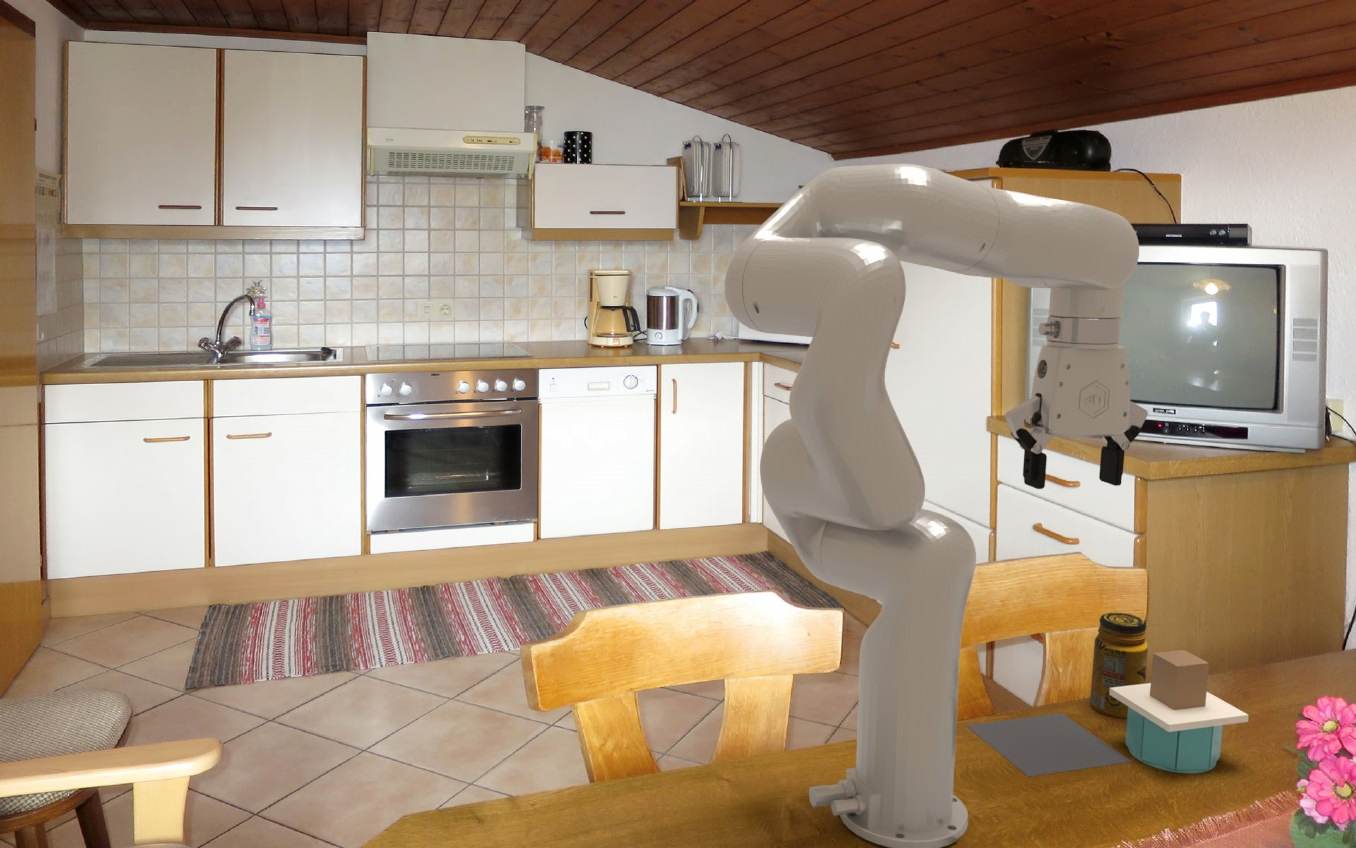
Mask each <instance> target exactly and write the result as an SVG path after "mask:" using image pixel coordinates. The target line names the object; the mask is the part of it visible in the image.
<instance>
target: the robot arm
mask: <svg viewBox="0 0 1356 848" xmlns="http://www.w3.org/2000/svg"><path fill="white" fill-rule="evenodd" d="M1139 257H1140V244H1139V239H1138V236H1137V233H1136V231H1135V229H1134V228H1133V225H1132V224H1131V223H1130V222H1129V221H1128V220H1127V219H1126V218H1125V217H1124V216H1122V215H1121V214H1118V213H1117V212H1113V211H1110V210H1107V209H1105V208H1102V207H1098V206H1095V205H1092V204H1087V203H1081V202H1077V201H1070V200H1063V199H1057V198H1050V197H1044V196H1039V195H1034V194H1029V193H1025V192H1020V191H1014V190H1006V189H1000V188H994V187H992V186H991V187H990V186H986V185H983V184H981V183H978V182H974V181H970V180H968V179H964V178H961V177H959V176H956V175H952V174H950V173H948V172H947V173H946V172H943V171H940V170H937V169H934V168H931V167H927V166H925V165H924V166H923V165H920V164H913V163H884V164H881V163H880V164H865V165H850V166H849V165H847V166H846V165H845V166H840V167H839V166H837V167H833V168H830V169H828V170H825V171H824V172H822V173H821V174H819V175H817V176H816V177H814V178H813V179H811V180H810V181H808V183H806V184H804V185H803V186H802V187H801V188H799V190H798V191H796V192H795V193H794V194H792V196H790V197H789V198H788V199H787V200H786V201H785V202H784V203H783V204H782V205H781V206H780V207H779V208H778V209H777V210H776V211H775V212H773V214H771V215H770V216H769V217H768V218H767V219H766V220H765V221H764V222H763V223H762V224H760V225H759V226H758V228H756V230H754V231H753V232H752V233H751V234H750V235H749V236H748V237H747V238H746V239H745V240H744V241H743V242H742V244H741V245H740V246H738V248H737V250H736V251H735V253H734V254H733V256H732V259H730V261H729V264H728V266H727V267H728V268H727V270H726V273H725V279H724V295H725V300H726V303H727V306H728V308H729V311H730V312H731V314H732V315H733V317H734V318H735V319H736V320H737V321H738V322H739V323H740V324H742V325H744V327H747V328H748V329H750V330H753V331H756V332H760V333H764V334H775V335H784V336H785V335H788V336H798V337H807V338H811V342H810V344H809V346H808V347H807V352H806V354H805V356H804V358H803V362H802V364H801V366H800V368H799V369H798V372H797V373H796V374H797V375H796V377H794V378H795V379H794V380H793V384H792V386H791V389H790V393H789V398H788V399H789V400H788V404H789V405H788V406H789V414H790V418H788V419H786V420H785V421H783V422H781V423H780V424H778V425H777V426H776V427H775V428H773V430H772V431H771V432H770V433H769V435H768V437H767V438H766V440H765V442H764V445H763V448H762V451H761V455H760V463H759V473H760V474H759V475H760V484H761V487H762V492H763V494H764V497H765V500H766V503H767V504H768V505H769V507H770V510H771V511H772V513H773V514H774V517H775V518H776V520H777V521H778V523H779V525H780V527H781V528H782V530H783V532H784V533H785V535H786V537H787V539H788V541H789V542H790V544H791V545H792V547H793V549H794V550H795V552H796V554H797V555H798V557H799V558H800V560H801V562H802V563H803V565H804V566H805V568H806V569H807V570H808V571H809V572H810V573H811V575H813V576H814V577H816V579H818V580H819V581H822V583H826V584H828V585H830V586H834V587H836V588H839V589H842V590H845V591H849V592H852V593H854V594H859V595H862V596H866V597H868V598H870V599H872V600H873V599H874V600H876V601H878V602H880V604H881V610H880V613H879V614H878V616H877V617H876V618H875V619H874V621H873V622H872V623H871V624H870V626H869V627H868V628H867V630H866V631H865V633H864V635H863V637H862V639H861V643H860V648H859V649H860V650H859V663H858V664H859V665H858V666H859V671H858V699H857V700H858V701H857V703H858V704H857V728H856V729H857V731H856V762H855V764H856V765H855V767H850V768H847V769H846V771H845V777H846V778H845V779H841V780H838V782H837V783H836V784H830V785H828V784H824V785H817V786H816V785H815V786H810V787H809V789H808V800H809V802H810V804H811V806H812V808H820V807H825V806H826V807H827V806H830V808H831V813H832V814H833V816H835V817H837V816H840V819H841V821H842V823H843V824H844V825H845V826H846V827H847V829H848V830H849V831H851V832H853V834H855V835H857V836H858V837H860V838H862V839H863V840H866V841H867V842H871V843H873V844H875V845H879V846H881V847H882V846H883V847H886V848H944V847H946V846H949V845H951V844H954V843H956V842H957V841H958V840H960V839H959V838H961V837H962V836H963V835H964V834H965V833H966V831H967V829H968V826H969V813H968V809H967V807H966V805H965V804H964V803H963V802H962V800H961V799H959V797H957V796H956V795H955V794H954V781H955V780H954V779H955V762H956V760H955V758H956V742H957V741H956V740H957V739H956V738H957V721H958V720H957V718H958V699H959V697H958V696H959V679H960V677H959V676H960V661H961V659H960V658H961V657H960V656H961V645H962V634H963V633H962V632H963V625H964V619H965V614H966V609H967V604H968V599H969V596H970V591H971V588H972V584H973V580H974V576H975V570H976V564H977V563H976V562H977V553H976V547H975V543H974V540H973V539H972V537H971V535H970V533H969V532H968V531H967V530H966V529H965V527H964V526H963V525H961V524H960V523H959V522H957V521H956V520H954V519H952V518H951V517H949V516H946V515H945V514H941V513H939V512H937V511H932V510H928V509H926V508H925V509H924V508H922V507H923V505H924V502H925V497H926V496H925V495H926V484H925V479H924V475H923V472H922V469H921V465H920V463H919V460H918V458H917V455H916V453H915V451H914V450H913V447H912V445H911V443H910V441H909V438H908V436H907V434H906V432H905V430H904V428H903V425H902V422H901V421H900V419H899V417H898V415H897V412H896V411H895V409H894V408H895V407H894V406H893V404H892V401H891V399H890V396H889V394H888V391H887V388H886V387H887V386H886V381H885V379H886V377H885V376H886V368H887V361H888V358H889V354H890V351H891V348H892V344H893V340H894V338H895V334H896V331H897V328H898V325H899V322H900V320H901V317H902V312H904V311H903V310H904V306H905V302H906V294H907V289H906V288H907V287H906V286H907V285H906V277H905V272H904V268H903V266H902V264H901V262H904V263H909V264H913V265H918V266H923V267H929V268H933V269H934V268H935V269H939V270H943V271H946V272H951V273H954V274H955V273H956V274H958V275H959V274H961V275H965V276H969V277H970V276H971V277H981V278H989V279H992V278H993V279H1004V280H1006V281H1007V282H1008V283H1010V284H1012V285H1015V286H1019V287H1022V288H1023V287H1024V288H1031V289H1032V288H1033V289H1035V288H1036V289H1049V290H1050V291H1049V307H1048V316H1047V321H1046V322H1041V323H1040V324H1039V325H1038V332H1039V335H1040V336H1046V337H1045V338H1046V344H1042V345H1041V348H1040V351H1039V354H1038V358H1037V361H1036V362H1037V363H1036V366H1035V371H1034V376H1033V382H1032V388H1031V396H1030V398H1029V399H1027V400H1026V401H1024V402H1022V403H1020V404H1018V405H1017V406H1015V407H1013V408H1011V409H1010V410H1007V411H1006V413H1005V414H1004V417H1005V421H1006V423H1007V425H1008V428H1009V429H1010V431H1011V433H1010V435H1011V436H1012V438H1013V439H1014V440H1015V441H1016V442H1017V443H1018V445H1019V447H1020V449H1021V450H1023V451H1024V453H1023V467H1022V477H1023V482H1024V484H1025V485H1026V486H1029V487H1032V488H1033V489H1037V490H1043V489H1044V488H1045V486H1046V476H1047V475H1046V473H1047V459H1048V456H1047V453H1044V452H1043V450H1045V448H1046V447H1047V445H1048V444H1049V443H1050V442H1051V440H1052V439H1053V438H1054V437H1056V438H1061V439H1062V438H1063V439H1064V438H1067V439H1068V438H1098V437H1099V438H1100V437H1101V438H1102V439H1103V441H1104V443H1105V444H1106V445H1104V446H1102V448H1101V450H1100V460H1099V461H1100V464H1099V474H1098V477H1099V480H1100V481H1101V482H1104V483H1107V484H1109V485H1112V486H1114V487H1115V486H1117V487H1119V486H1121V485H1122V476H1123V474H1124V466H1125V465H1124V464H1125V463H1124V462H1125V451H1129V449H1130V448H1131V443H1132V442H1133V441H1134V440H1135V439H1136V438H1137V437H1138V436H1139V435H1140V433H1141V428H1142V427H1143V425H1144V423H1145V421H1146V419H1147V417H1148V415H1149V412H1148V410H1147V409H1145V408H1144V407H1141V406H1140V405H1139V404H1137V403H1135V402H1133V401H1132V400H1131V394H1130V393H1131V391H1130V390H1131V389H1130V388H1131V385H1130V383H1131V382H1130V381H1131V380H1130V370H1129V360H1128V354H1127V349H1126V347H1125V346H1121V345H1120V336H1121V324H1122V323H1121V321H1122V318H1121V317H1122V306H1123V296H1124V295H1123V293H1124V284H1125V283H1126V282H1127V281H1129V279H1130V278H1131V277H1132V275H1133V273H1134V272H1135V270H1136V268H1137V266H1138V263H1139ZM1028 417H1029V424H1030V427H1031V428H1030V429H1029V430H1028V429H1026V425H1025V420H1026V419H1027V418H1028Z"/></svg>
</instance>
